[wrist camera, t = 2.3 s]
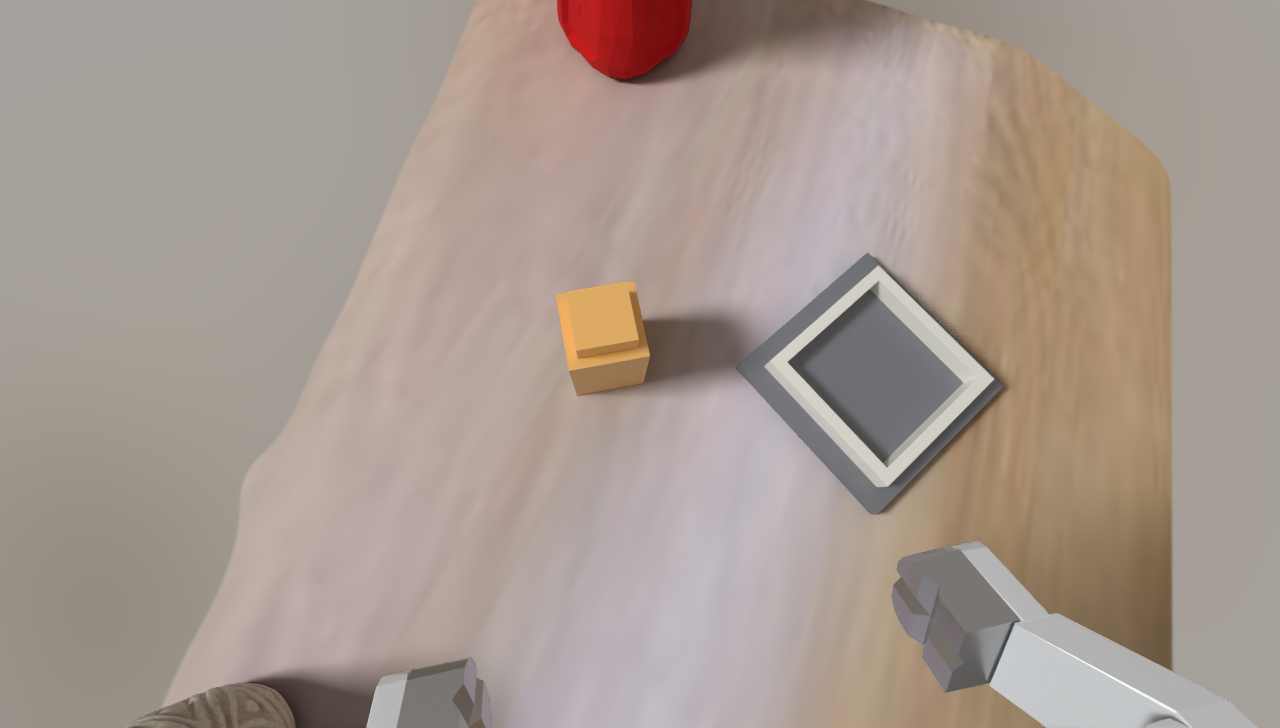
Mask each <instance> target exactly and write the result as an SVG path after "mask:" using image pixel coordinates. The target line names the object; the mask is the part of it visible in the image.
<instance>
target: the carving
mask: <svg viewBox="0 0 1280 728" xmlns="http://www.w3.org/2000/svg"><path fill="white" fill-rule="evenodd" d="M122 728H296V727H295V719H294V716H293V714H292V711H291V709H290V708H289V706H288V704H287V702H286V701H285V699H284V698H283V697H282V696H281V694H280V693H278V692H277V691H276V690H274V689H272V688H269V687H267V686H265V685H261V684H254V683H236V684H229V685H224V686H221V687H216V688H212V689H210V690H208V691H206V692H204V693H202V694H196V695H194V696H192V697H190V698H188V699H185V700H183V701H181V702H178V703H176V704H173V705H170V706H168V707H165V708H162V709H159V710H157V711H154V712H152V713H150V714H148V715H145V716H143V717H140V718H138V719H136V720H134V721H132V722H130V723H128V724H127V725H125V726H124V727H122Z"/></svg>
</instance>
